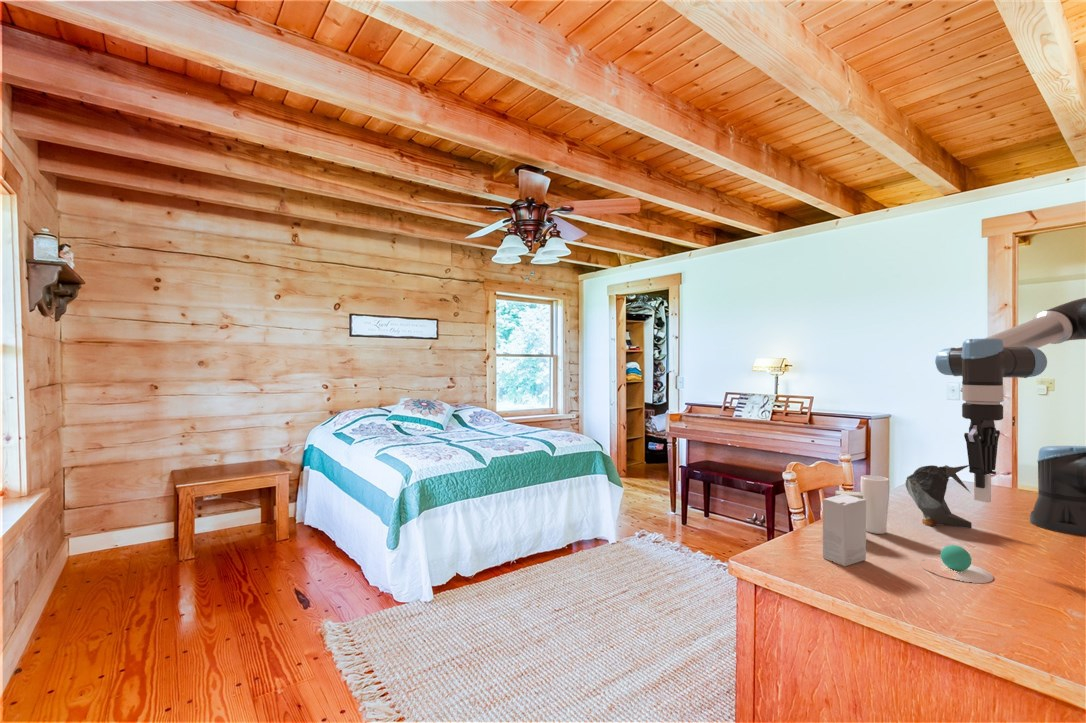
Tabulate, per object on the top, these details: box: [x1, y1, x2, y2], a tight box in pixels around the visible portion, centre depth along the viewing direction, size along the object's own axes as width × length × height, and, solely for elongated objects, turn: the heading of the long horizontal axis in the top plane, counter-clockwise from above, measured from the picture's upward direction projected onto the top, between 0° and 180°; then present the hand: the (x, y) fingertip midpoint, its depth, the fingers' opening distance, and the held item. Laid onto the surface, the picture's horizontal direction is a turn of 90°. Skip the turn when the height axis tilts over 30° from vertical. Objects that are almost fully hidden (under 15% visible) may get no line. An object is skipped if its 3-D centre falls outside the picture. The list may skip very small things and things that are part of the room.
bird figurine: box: [905, 464, 973, 529], centre depth 149 cm, size 14×15×18 cm
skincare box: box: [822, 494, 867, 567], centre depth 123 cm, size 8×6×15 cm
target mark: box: [946, 564, 994, 584], centre depth 116 cm, size 13×13×1 cm
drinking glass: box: [860, 474, 890, 535], centre depth 143 cm, size 7×7×15 cm
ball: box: [940, 544, 972, 571], centre depth 117 cm, size 6×6×6 cm
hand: (982, 500), depth 123 cm, fingers closed
